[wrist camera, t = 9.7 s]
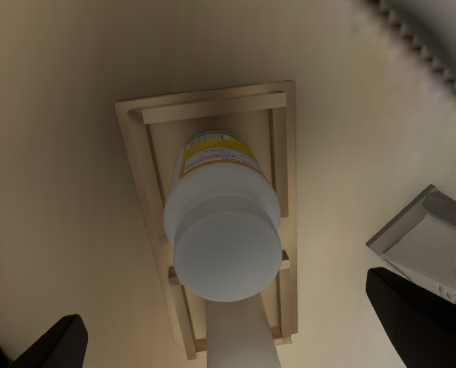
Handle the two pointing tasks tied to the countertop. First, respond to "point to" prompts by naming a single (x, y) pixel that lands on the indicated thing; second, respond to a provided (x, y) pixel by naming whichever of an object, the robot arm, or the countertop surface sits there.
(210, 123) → the caddy
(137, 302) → the countertop surface
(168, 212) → the supplement bottle
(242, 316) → the white rounded rod
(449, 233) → the skyscraper
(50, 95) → the countertop surface
